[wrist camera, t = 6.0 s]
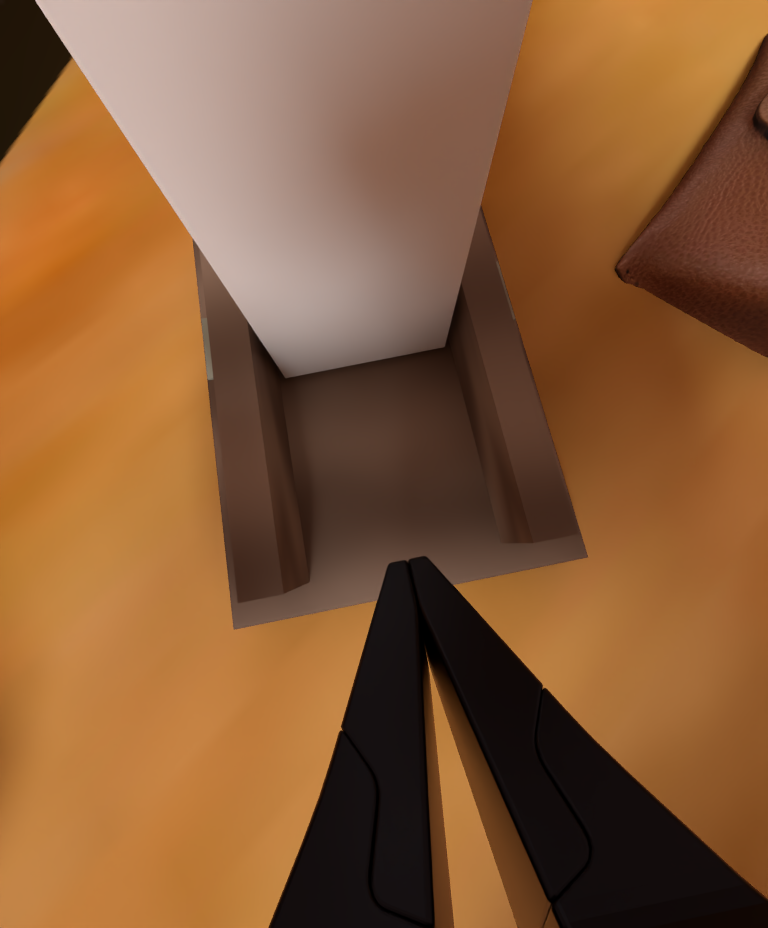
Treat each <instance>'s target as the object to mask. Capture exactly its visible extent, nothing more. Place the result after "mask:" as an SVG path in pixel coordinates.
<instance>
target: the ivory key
mask: <svg viewBox="0 0 768 928" xmlns="http://www.w3.org/2000/svg"><path fill="white" fill-rule="evenodd" d="M35 1H36V2H37V4H38V5H39V7H40V8H41V10H42V11H43V13H44V14H45V16H46V17H47V19H48V20H49V22H50V24H51V25H52V27H53V28H54V30H55V31H56V32H57V34H58V36H59V37H60V38H61V40H62V42H63V43H64V44H65V46H66V48H67V49H68V51H69V52H70V54H71V55H72V57H73V58H74V60H75V61H76V63H77V64H78V66H79V67H80V69H81V70H82V72H83V73H84V75H85V76H86V78H87V79H88V81H89V82H90V84H91V85H92V87H93V88H94V90H95V91H96V93H97V94H98V96H99V97H100V99H101V100H102V102H103V104H104V105H105V107H106V108H107V110H108V111H109V113H110V114H111V116H112V117H113V119H114V120H115V122H116V123H117V125H118V126H119V128H120V129H121V131H122V132H123V134H124V135H125V137H126V138H127V140H128V141H129V143H130V144H131V146H132V147H133V149H134V150H135V152H136V153H137V155H138V156H139V158H140V159H141V161H142V162H143V164H144V165H145V167H146V168H147V170H148V171H149V173H150V174H151V176H152V177H153V179H154V180H155V182H156V184H157V185H158V187H159V188H160V190H161V191H162V193H163V194H164V196H165V197H166V199H167V200H168V202H169V203H170V205H171V206H172V208H173V209H174V211H175V212H176V214H177V215H178V217H179V218H180V220H181V221H182V223H183V224H184V226H185V227H186V229H187V230H188V232H189V233H190V235H191V236H192V238H193V239H194V241H195V242H196V244H197V245H198V247H199V248H200V250H201V251H202V253H203V254H204V256H205V257H206V259H207V260H208V262H209V264H210V265H211V267H212V268H213V270H214V271H215V273H216V274H217V276H218V277H219V279H220V280H221V282H222V283H223V285H224V286H225V288H226V289H227V291H228V292H229V294H230V295H231V297H232V298H233V300H234V301H235V303H236V304H237V306H238V307H239V309H240V310H241V312H242V313H243V315H244V316H245V318H246V319H247V321H248V322H249V324H250V325H251V327H252V328H253V330H254V331H255V333H256V334H257V336H258V337H259V339H260V340H261V342H262V344H263V345H264V347H265V348H266V350H267V351H268V353H269V354H270V356H271V357H272V359H273V360H274V362H275V363H276V365H277V366H278V368H279V369H280V371H281V372H282V374H283V375H284V377H285V378H290V377H295V376H300V375H305V374H310V373H315V372H320V371H325V370H330V369H336V368H341V367H346V366H351V365H356V364H361V363H366V362H371V361H376V360H381V359H387V358H392V357H397V356H402V355H407V354H412V353H417V352H422V351H427V350H433V349H438V348H443V347H445V344H446V340H447V336H448V332H449V328H450V324H451V320H452V316H453V312H454V308H455V304H456V300H457V296H458V292H459V288H460V284H461V280H462V277H463V273H464V269H465V265H466V261H467V257H468V253H469V249H470V245H471V241H472V237H473V233H474V229H475V225H476V221H477V217H478V213H479V209H480V206H481V202H482V198H483V194H484V190H485V186H486V182H487V178H488V174H489V170H490V166H491V162H492V158H493V154H494V150H495V146H496V142H497V138H498V135H499V131H500V127H501V123H502V119H503V115H504V111H505V107H506V103H507V99H508V95H509V91H510V87H511V83H512V79H513V75H514V71H515V67H516V63H517V60H518V56H519V52H520V48H521V44H522V40H523V36H524V32H525V28H526V24H527V20H528V16H529V12H530V8H531V4H532V0H35Z"/></svg>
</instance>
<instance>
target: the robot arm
mask: <svg viewBox="0 0 768 928" xmlns="http://www.w3.org/2000/svg"><path fill="white" fill-rule="evenodd" d="M426 653H427V654H426ZM427 657H428V660H427ZM428 661H429V665H430V668H431V671H432V675H433V678H434V681H435V684H436V687H437V690H438V693H439V696H440V699H441V701H442V704H443V707H444V710H445V713H446V716H447V719H448V722H449V725H450V728H451V731H452V734H453V737H454V740H455V743H456V746H457V749H458V752H459V755H460V758H461V761H462V764H463V767H464V770H465V773H466V776H467V779H468V782H469V784H470V787H471V790H472V793H473V796H474V799H475V802H476V805H477V808H478V811H479V814H480V817H481V820H482V823H483V826H484V829H485V832H486V835H487V838H488V841H489V844H490V847H491V850H492V853H493V856H494V859H495V862H496V864H497V867H498V870H499V873H500V876H501V879H502V882H503V885H504V888H505V891H506V894H507V897H508V900H509V903H510V906H511V909H512V912H513V915H514V918H515V921H516V924H517V927H518V928H768V899H767V898H766V897H765V896H764V895H762V894H761V893H760V892H759V891H758V890H756V889H755V888H754V887H753V886H752V885H751V884H749V883H748V882H747V881H746V880H745V879H744V878H743V877H741V876H740V875H739V874H738V873H737V872H736V871H735V870H734V869H733V868H731V867H730V866H729V865H728V864H727V863H726V862H725V861H724V860H723V859H722V858H720V857H719V856H718V855H717V854H716V853H715V852H714V851H713V850H712V849H711V848H710V847H709V846H708V845H706V844H705V843H704V842H703V841H702V840H701V839H700V838H699V837H698V836H697V835H696V834H695V833H693V832H692V831H691V830H690V829H689V828H688V827H687V826H686V825H685V824H684V823H683V822H682V821H680V820H679V819H678V818H677V817H676V816H675V815H674V814H673V813H672V812H671V811H670V810H669V809H667V808H666V807H665V806H664V805H663V804H662V803H661V802H660V801H659V800H658V799H657V798H656V797H654V796H653V795H652V794H651V793H650V792H649V791H648V790H647V789H646V788H645V787H644V786H643V785H641V784H640V783H639V782H638V781H637V780H636V779H635V778H634V777H633V776H632V775H631V774H630V773H629V772H627V771H626V770H625V769H624V768H623V767H622V766H621V765H620V764H619V763H618V762H617V761H616V760H615V759H614V758H613V757H612V756H611V755H610V754H609V753H608V752H607V751H606V750H605V749H604V748H603V747H602V746H600V745H599V744H598V743H597V742H596V741H595V740H594V739H593V738H592V737H591V736H590V735H589V734H588V733H587V731H586V730H585V729H584V728H583V727H582V726H581V725H580V724H579V723H578V722H577V721H576V720H575V719H574V718H573V717H572V716H571V715H570V714H569V713H568V711H567V710H566V709H565V708H564V707H563V706H562V705H561V704H560V703H559V702H558V701H557V699H556V698H555V697H554V696H553V695H552V694H551V693H550V692H549V691H548V689H546V688H543V685H542V683H541V682H540V681H539V680H538V679H537V678H536V676H535V675H534V674H533V673H532V672H531V671H530V670H529V669H528V668H527V667H526V665H525V664H524V663H523V662H522V661H521V660H520V659H519V658H518V657H517V655H516V654H515V653H514V652H513V651H512V650H511V649H510V648H509V647H508V645H507V644H506V643H505V642H504V641H503V640H502V639H501V638H500V637H499V635H498V634H497V633H496V632H495V631H494V630H493V629H492V628H491V627H490V626H489V624H488V623H487V622H486V621H485V620H484V619H483V618H482V617H481V616H480V614H479V613H478V612H477V611H476V610H475V609H474V608H473V607H472V606H471V604H470V603H469V602H468V601H467V600H466V599H465V598H464V597H463V596H462V594H461V593H460V592H459V591H458V590H457V589H456V588H455V587H454V586H453V585H452V583H451V582H450V581H449V580H448V579H447V578H446V577H445V576H444V575H443V573H442V572H441V571H440V570H439V569H438V568H437V567H436V566H435V565H434V563H433V562H432V561H431V560H430V559H429V558H428V557H427V556H420V557H415V558H411V559H409V560H408V562H407V561H406V560H401V561H396V562H391V563H389V564H388V566H387V569H386V573H385V576H384V580H383V583H382V586H381V590H380V593H379V597H378V600H377V604H376V607H375V611H374V614H373V618H372V621H371V624H370V628H369V631H368V635H367V638H366V642H365V645H364V649H363V652H362V656H361V659H360V662H359V666H358V669H357V673H356V676H355V680H354V683H353V687H352V690H351V694H350V697H349V700H348V704H347V707H346V711H345V714H344V718H343V721H342V725H341V728H342V730H343V731H340V732H339V734H338V738H337V741H336V744H335V748H334V751H333V755H332V758H331V761H330V764H329V768H328V771H327V774H326V777H325V780H324V783H323V786H322V790H321V793H320V796H319V799H318V801H317V804H316V807H315V809H314V812H313V815H312V818H311V820H310V823H309V826H308V828H307V831H306V834H305V836H304V839H303V842H302V844H301V847H300V849H299V852H298V854H297V857H296V860H295V862H294V865H293V867H292V870H291V872H290V875H289V877H288V880H287V882H286V885H285V887H284V890H283V892H282V895H281V897H280V900H279V902H278V905H277V907H276V910H275V913H274V915H273V918H272V920H271V923H270V925H269V928H454V921H453V910H452V900H451V890H450V880H449V869H448V859H447V849H446V838H445V828H444V818H443V808H442V797H441V787H440V777H439V766H438V756H437V746H436V736H435V725H434V715H433V705H432V694H431V684H430V674H429V667H428ZM542 688H543V690H542Z"/></svg>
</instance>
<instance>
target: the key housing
mask: <svg viewBox="0 0 768 928" xmlns="http://www.w3.org/2000/svg"><path fill="white" fill-rule="evenodd" d="M193 247H194V256H195V266H196V275H197V285H198V294H199V304H200V313H201V323H202V333H203V342H204V352H205V361H206V371H207V380H208V390H209V399H210V409H211V418H212V428H213V437H214V447H215V456H216V466H217V475H218V485H219V494H220V504H221V513H222V523H223V532H224V542H225V551H226V561H227V570H228V580H229V589H230V599H231V608H232V618H233V628H234V629H239V628H244V627H249V626H254V625H259V624H264V623H269V622H274V621H279V620H283V619H288V618H293V617H298V616H303V615H308V614H313V613H318V612H323V611H328V610H332V609H337V608H342V607H347V606H352V605H357V604H362V603H367V602H372V601H376V600H378V597H379V593H380V590H381V586H382V583H383V580H384V576H385V573H386V569H387V566H388V564H389V563H391V562H396V561H401V560H406V561H407V562H408V560H409V559H411V558H415V557H420V556H427V557H428V558H429V559H430V560H431V561H432V562H433V563H434V565H435V566H436V567H437V568H438V569H439V570H440V571H441V572H442V573H443V575H444V576H445V577H446V578H447V579H448V580H449V581H450V582H451V583H452V585H455V584H460V583H465V582H470V581H474V580H479V579H484V578H489V577H494V576H499V575H504V574H509V573H514V572H518V571H523V570H528V569H533V568H538V567H543V566H548V565H553V564H558V563H563V562H567V561H572V560H577V559H582V558H587V557H588V555H587V552H586V549H585V545H584V542H583V539H582V535H581V532H580V529H579V526H578V522H577V519H576V516H575V512H574V509H573V506H572V503H571V499H570V496H569V493H568V489H567V486H566V483H565V480H564V476H563V473H562V470H561V466H560V463H559V460H558V457H557V453H556V450H555V447H554V443H553V440H552V437H551V434H550V430H549V427H548V424H547V420H546V417H545V414H544V411H543V407H542V404H541V401H540V397H539V394H538V391H537V388H536V384H535V381H534V378H533V374H532V371H531V368H530V365H529V361H528V358H527V355H526V351H525V348H524V345H523V342H522V338H521V335H520V332H519V328H518V325H517V322H516V319H515V315H514V312H513V309H512V305H511V302H510V299H509V296H508V292H507V289H506V286H505V282H504V279H503V276H502V273H501V269H500V266H499V263H498V259H497V256H496V253H495V250H494V246H493V243H492V240H491V236H490V233H489V230H488V227H487V223H486V220H485V217H484V213H483V210H482V207H481V206H480V209H479V213H478V217H477V221H476V225H475V229H474V233H473V237H472V241H471V245H470V249H469V253H468V257H467V261H466V265H465V269H464V273H463V277H462V280H461V284H460V288H459V292H458V296H457V300H456V304H455V308H454V312H453V316H452V320H451V324H450V328H449V332H448V336H447V340H446V344H445V347H443V348H438V349H433V350H427V351H422V352H417V353H412V354H407V355H402V356H397V357H392V358H387V359H381V360H376V361H371V362H366V363H361V364H356V365H351V366H346V367H341V368H336V369H330V370H325V371H320V372H315V373H310V374H305V375H300V376H295V377H290V378H285V377H284V375H283V374H282V372H281V371H280V369H279V368H278V366H277V365H276V363H275V362H274V360H273V359H272V357H271V356H270V354H269V353H268V351H267V350H266V348H265V347H264V345H263V344H262V342H261V340H260V339H259V337H258V336H257V334H256V333H255V331H254V330H253V328H252V327H251V325H250V324H249V322H248V321H247V319H246V318H245V316H244V315H243V313H242V312H241V310H240V309H239V307H238V306H237V304H236V303H235V301H234V300H233V298H232V297H231V295H230V294H229V292H228V291H227V289H226V288H225V286H224V285H223V283H222V282H221V280H220V279H219V277H218V276H217V274H216V273H215V271H214V270H213V268H212V267H211V265H210V264H209V262H208V260H207V259H206V257H205V256H204V254H203V253H202V251H201V250H200V248H199V247H198V245H197V244H196V242H195V241H194V239H193Z"/></svg>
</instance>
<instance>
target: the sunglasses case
mask: <svg viewBox="0 0 768 928" xmlns="http://www.w3.org/2000/svg"><path fill="white" fill-rule="evenodd" d="M615 271H616V272H617V274H618V277H619V278H620V279H621V280H622V281H623V282H625V283H629V284H633V285H634V286H636V287H640V288H643V289H645V290H646V291H648V292H650V293H652V294H653V295H655V296H657V297H659V298H660V299H662V300H664V301H666V302H667V303H669V304H671V305H673V306H675V307H676V308H678V309H680V310H682V311H683V312H685V313H687V314H689V315H691V316H692V317H695V318H696V319H698V320H699V321H701V322H703V323H705V324H707V325H709V326H710V327H712V328H714V329H716V330H717V331H719V332H721V333H723V334H724V335H726V336H728V337H730V338H732V339H734V340H735V341H737V342H739V343H741V344H743V345H745V346H746V347H748V348H750V349H751V350H753V351H755V352H757V353H760V354H761V355H763V356H765V357H768V34H767V36H766V37H765V38H764V40H763V42H762V44H761V47H760V50H759V52H758V55H757V58H756V60H755V63H754V65H753V67H752V68H751V70H750V72H749V74H748V77H747V78H746V80H745V82H744V83H743V85H742V87H741V89H740V91H739V92H738V94H737V95H736V97H735V99H734V101H733V102H732V104H731V106H730V107H729V109H728V110H727V112H726V113H725V115H724V116H723V118H722V120H721V121H720V123H719V125H718V126H717V128H716V129H715V131H714V132H713V134H712V135H711V137H710V138H709V140H708V141H707V143H706V144H705V145H704V147H703V149H702V151H701V152H700V154H699V155H698V157H697V158H696V160H695V162H694V163H693V165H692V166H691V167H690V168H689V170H688V171H687V173H686V175H685V176H684V177H683V179H682V180H681V182H680V184H679V185H678V186H677V187H676V188H675V190H674V191H673V194H672V195H671V196H670V198H669V199H668V200H667V202H666V203H665V204H664V205H663V207H662V208H661V210H660V211H659V212H658V213H657V214H656V215H655V216H654V218H653V219H652V220H651V222H650V223H649V224H648V226H647V227H646V229H645V230H644V231H643V232H642V233H641V235H640V236H639V237H638V238H637V239H636V241H635V242H634V243H633V245H632V246H631V247H630V248H629V249H628V251H627V252H626V254H624V255H623V256H622V258H621V259H620V261H619V262H618V264H617V266H616V268H615Z"/></svg>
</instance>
